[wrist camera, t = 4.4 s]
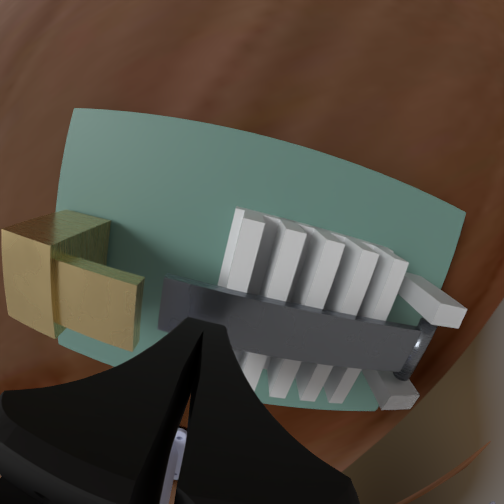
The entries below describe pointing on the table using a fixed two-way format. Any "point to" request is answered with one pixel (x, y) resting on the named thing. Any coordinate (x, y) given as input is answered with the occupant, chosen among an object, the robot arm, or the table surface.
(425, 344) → the strap
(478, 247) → the table surface
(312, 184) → the board
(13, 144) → the table surface
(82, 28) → the table surface
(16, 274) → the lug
